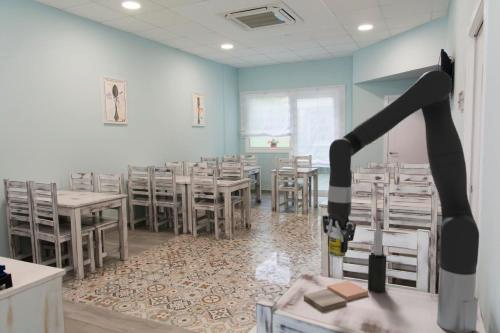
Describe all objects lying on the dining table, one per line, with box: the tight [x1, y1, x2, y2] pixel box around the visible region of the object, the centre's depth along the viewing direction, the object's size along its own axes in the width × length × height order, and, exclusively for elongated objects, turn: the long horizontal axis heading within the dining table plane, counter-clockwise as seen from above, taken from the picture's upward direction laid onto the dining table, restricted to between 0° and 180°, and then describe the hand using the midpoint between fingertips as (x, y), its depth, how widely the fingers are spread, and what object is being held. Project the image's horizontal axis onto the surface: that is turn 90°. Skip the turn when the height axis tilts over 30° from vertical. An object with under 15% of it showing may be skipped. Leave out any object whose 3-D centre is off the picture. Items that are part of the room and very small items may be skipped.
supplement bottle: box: [328, 226, 346, 259], centre depth 119 cm, size 5×5×10 cm
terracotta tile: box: [326, 280, 369, 302], centre depth 129 cm, size 10×10×2 cm
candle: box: [367, 222, 387, 295], centre depth 130 cm, size 5×5×25 cm
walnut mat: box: [303, 288, 347, 312], centre depth 122 cm, size 10×10×2 cm
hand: (337, 249), depth 119 cm, fingers closed on supplement bottle, 5 cm apart
